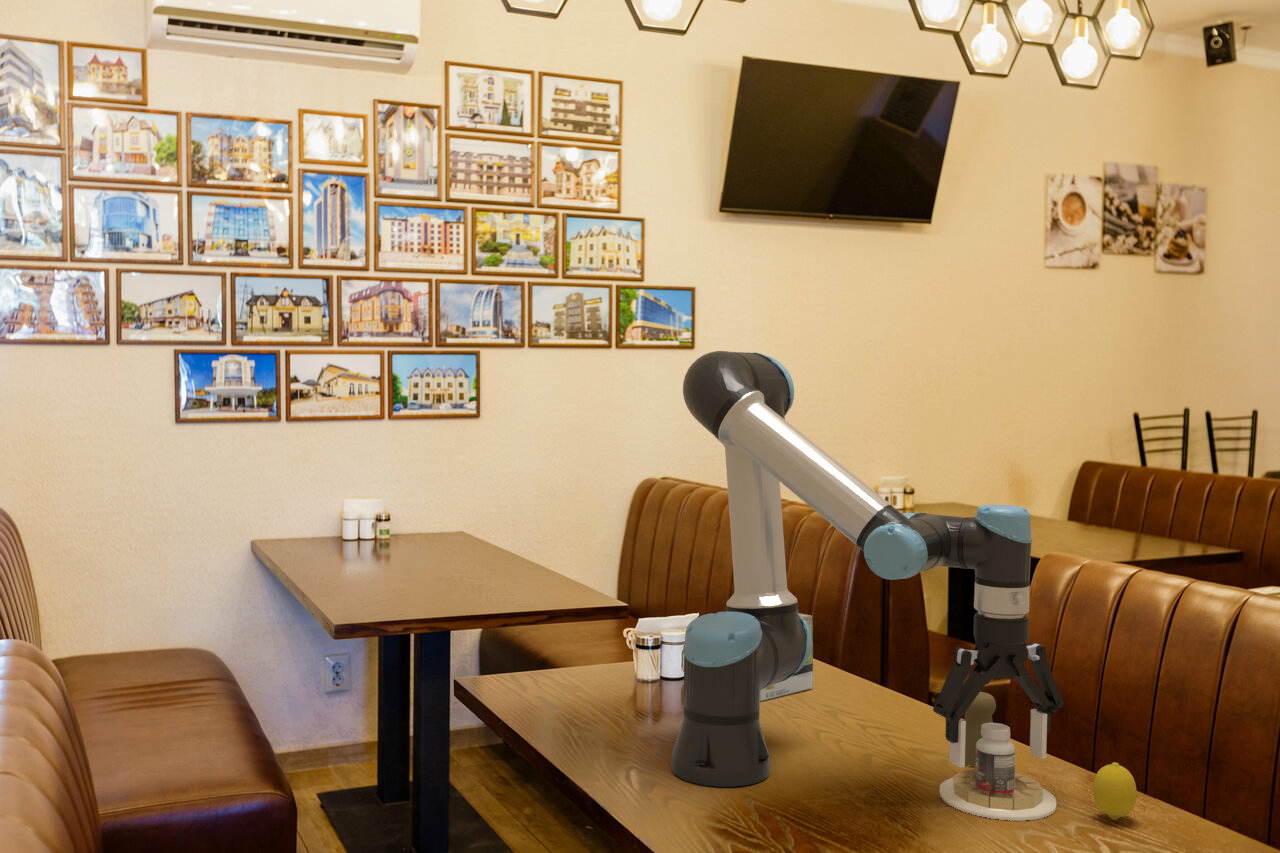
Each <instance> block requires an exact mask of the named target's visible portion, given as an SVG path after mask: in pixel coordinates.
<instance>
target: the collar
mask: <svg viewBox="0 0 1280 853" xmlns="http://www.w3.org/2000/svg"><path fill="white" fill-rule="evenodd" d="M975 777H976V768H973V769H972V768H971V769H964V770H961V771H959V772H958V773H956V774H954V775H953V777H952V778H953V788H954V794H955V795H957V796H958V797H960V798H962V799H963V800H965V801H966V802H969V803H972V804H976V805H980V806H983V807H987V808H993V809H1004V810H1021V809H1029V808H1034V807H1035V806H1037V805H1039V804H1040V803H1042V802H1043V790H1042V788H1043V787H1042V784H1041V782H1039V781H1037V780H1035V779H1033V778H1031V777H1030V776H1028V775H1025V774H1021V773H1017V772H1015V781H1014V788H1015V789H1017V790H1019V791H1021V792H1017V793H997V792H990V791H986V790H982V789H979V788H976V787H975V786H974V785H975Z"/></svg>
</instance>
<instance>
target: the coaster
mask: <svg viewBox="0 0 1280 853" xmlns="http://www.w3.org/2000/svg"><path fill="white" fill-rule="evenodd" d="M974 786H975V785H974ZM1042 790H1043V802H1042V803H1040V804H1039V805H1037V806H1035V807H1034V808H1029V809H1021V810H1004V809H993V808H987V807H983V806H980V805H976V804H972V803H969V802H966V801H965V800H963V799H962V798H960V797H958V796H957V795H955V794H954V788H953V777H950V778H948V779H945V780H944V781H943V782H942V783H940V785H939V797H940V799H941V798H942V799H941V800H942V801H943V802H944V803H945V804H946V803H947V804H946V805H948V806H949V805H950V806H949V807H951V806H952V807H951V808H953V807H954V808H953V809H955V808H956V809H955V810H957V809H958V810H957V811H959V810H961V811H960V812H962V811H963V812H962V813H965V812H966V813H965V814H968V813H970V814H969V815H971V814H972V815H971V816H975V815H977V816H976V817H979V816H982V817H981V818H983V817H987V818H986V819H989V818H991V819H990V820H995V819H999V820H998V821H1004V820H1008V821H1007V822H1027V821H1026V820H1030V821H1036V820H1041V819H1044V817H1045V818H1048V817H1050V816H1051V814H1052V815H1053V814H1055V812H1056V811H1057V799H1056V797H1055V796H1054V795H1053V794H1052V793H1051V792H1050V791H1048V790H1047V789H1046V788H1044V787H1042ZM1017 792H1021V791H1019V790H1017V789H1015V788H1014V793H1017ZM1049 815H1050V816H1049ZM1047 816H1048V817H1047ZM1009 820H1010V821H1009Z"/></svg>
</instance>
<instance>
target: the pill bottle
mask: <svg viewBox="0 0 1280 853" xmlns="http://www.w3.org/2000/svg"><path fill="white" fill-rule="evenodd" d="M981 735H982V737H983V738H981V739H979V740H978V741H977V743H976V768H975V769H976V777H975V787H976V788H979V789H982V790H986V791H990V792H997V793H1014V781H1015V773H1016V770H1015V769H1016V746H1015V745H1014V743H1013V742H1011V741H1010V739H1011V728H1010V727H1009V725H1007V724H1003V723H997V722H993V723H985V724H982V725H981Z"/></svg>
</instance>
